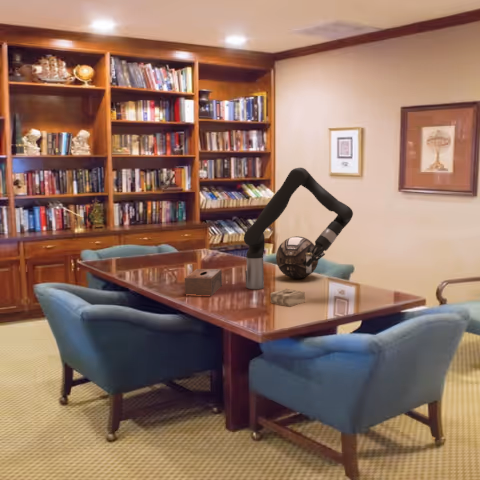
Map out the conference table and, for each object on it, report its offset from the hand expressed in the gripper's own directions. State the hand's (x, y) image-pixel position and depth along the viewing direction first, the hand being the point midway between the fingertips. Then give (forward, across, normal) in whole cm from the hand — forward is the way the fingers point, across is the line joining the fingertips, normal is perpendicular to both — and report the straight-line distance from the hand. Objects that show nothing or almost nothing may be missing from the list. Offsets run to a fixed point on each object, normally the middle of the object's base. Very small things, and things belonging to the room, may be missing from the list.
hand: (305, 265), depth 303 cm
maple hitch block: (+20, 0, +5) cm, 20 cm away
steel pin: (+1, 0, +4) cm, 4 cm away
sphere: (-4, -49, +29) cm, 57 cm away
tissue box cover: (+39, -46, -13) cm, 62 cm away
